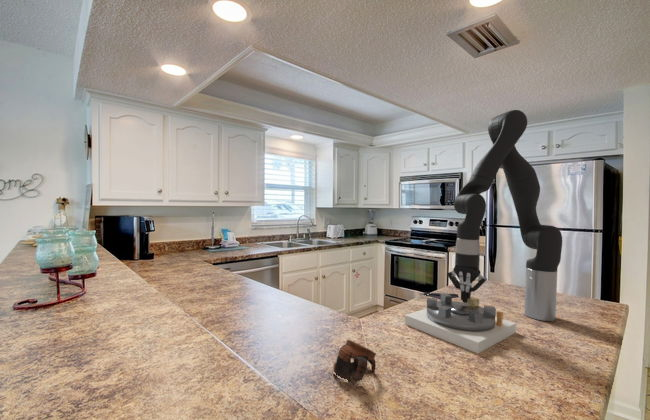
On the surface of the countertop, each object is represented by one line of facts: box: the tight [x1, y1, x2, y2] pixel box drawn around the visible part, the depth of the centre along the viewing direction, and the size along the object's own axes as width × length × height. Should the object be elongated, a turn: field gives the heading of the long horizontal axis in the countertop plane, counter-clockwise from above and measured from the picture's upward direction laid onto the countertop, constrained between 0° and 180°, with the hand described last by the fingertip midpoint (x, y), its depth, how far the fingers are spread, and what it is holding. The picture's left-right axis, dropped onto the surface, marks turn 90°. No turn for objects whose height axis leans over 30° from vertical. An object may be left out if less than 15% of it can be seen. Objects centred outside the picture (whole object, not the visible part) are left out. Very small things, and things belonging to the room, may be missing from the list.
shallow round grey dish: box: [426, 293, 497, 331], centre depth 98 cm, size 20×20×5 cm
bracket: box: [422, 292, 459, 300], centre depth 127 cm, size 14×15×3 cm
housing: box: [404, 307, 517, 354], centre depth 98 cm, size 24×24×7 cm
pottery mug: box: [332, 339, 377, 382], centre depth 70 cm, size 12×10×8 cm
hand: (465, 302), depth 105 cm, fingers closed
